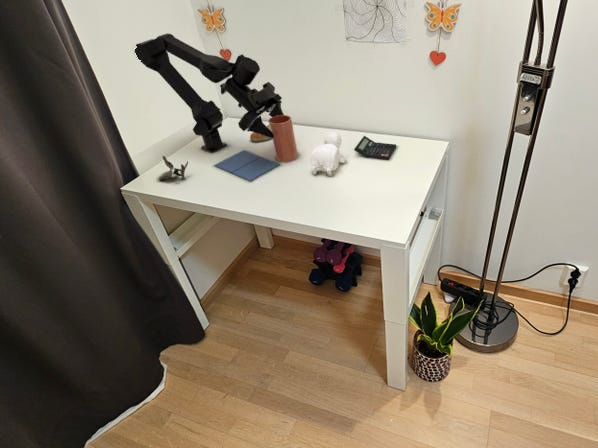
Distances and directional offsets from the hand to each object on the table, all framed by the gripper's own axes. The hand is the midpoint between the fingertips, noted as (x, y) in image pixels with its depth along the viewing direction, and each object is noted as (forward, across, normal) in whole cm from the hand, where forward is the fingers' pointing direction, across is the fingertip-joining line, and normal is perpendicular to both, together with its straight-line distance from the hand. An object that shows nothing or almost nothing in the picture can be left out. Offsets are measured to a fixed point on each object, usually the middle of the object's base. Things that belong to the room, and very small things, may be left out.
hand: (281, 131), depth 127 cm
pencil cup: (+7, 0, +6) cm, 9 cm away
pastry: (-4, +11, +17) cm, 21 cm away
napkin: (0, -9, +13) cm, 16 cm away
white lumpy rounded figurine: (+18, -2, -6) cm, 19 cm away
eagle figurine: (-13, -21, +26) cm, 36 cm away
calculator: (+26, +10, -14) cm, 31 cm away
